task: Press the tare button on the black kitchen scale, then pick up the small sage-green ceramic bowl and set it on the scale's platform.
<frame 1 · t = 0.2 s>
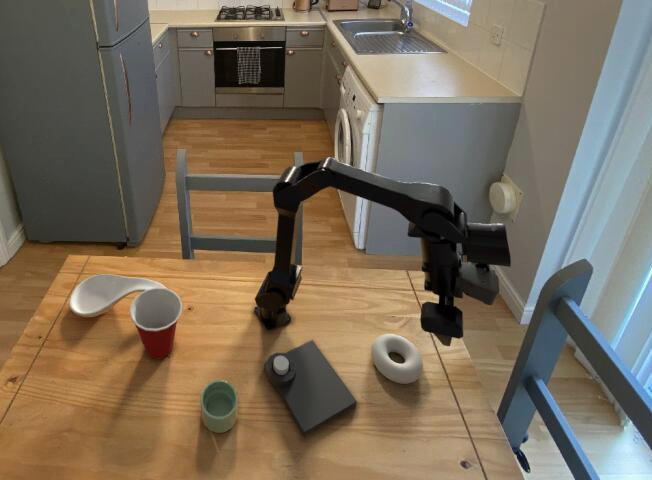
hand: (447, 324, 78), 15 cm above the table, tool pointing down, fingers open, 9 cm apart
tare button: (281, 365, 84), point 3 cm above the table, slide at 0.1 cm
scale: (308, 386, 83), on the table
spoon rest: (121, 305, 102), on the table
donut: (395, 363, 87), on the table
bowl: (219, 414, 79), on the table
plastic cup: (160, 346, 92), on the table
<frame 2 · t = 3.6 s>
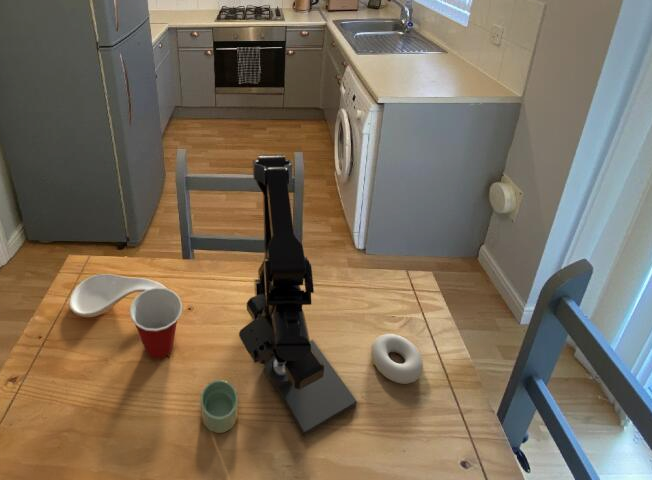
hand: (281, 364, 84), 4 cm above the table, tool pointing down, fingers closed, pressing on tare button
tare button: (280, 367, 84), point 3 cm above the table, slide at -0.4 cm, touching gripper
everything else where it was.
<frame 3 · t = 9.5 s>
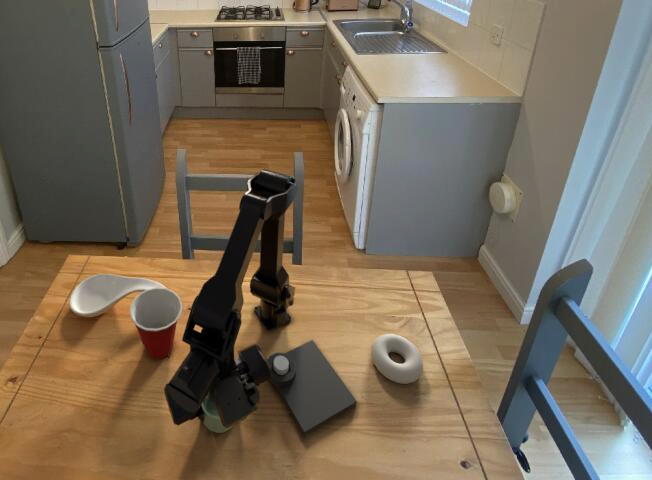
hand: (219, 410, 78), 1 cm above the table, tool pointing down, fingers closed on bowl, 7 cm apart
tare button: (281, 365, 84), point 3 cm above the table, slide at 0.1 cm
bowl: (219, 414, 79), on the table, touching gripper
everything else where it was.
when the fingers open (2 cm above the table, at t = 15.5 s): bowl stays where it is, resting on scale.
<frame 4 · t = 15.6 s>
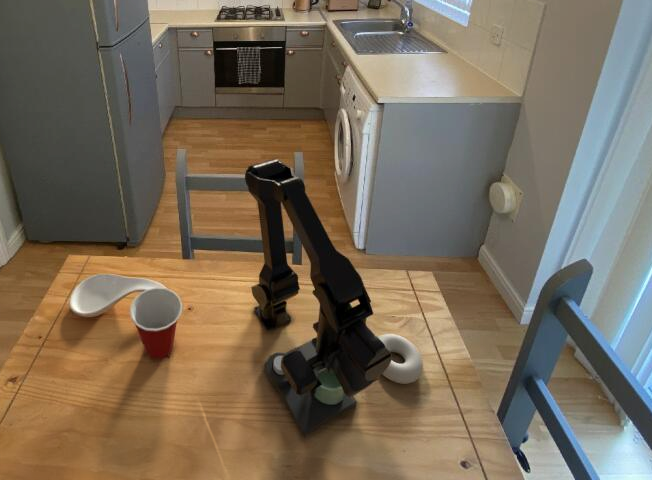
hand: (327, 384, 81), 2 cm above the table, tool pointing down, fingers open, 7 cm apart
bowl: (327, 387, 81), point 1 cm above the table, touching scale
everything else where it was.
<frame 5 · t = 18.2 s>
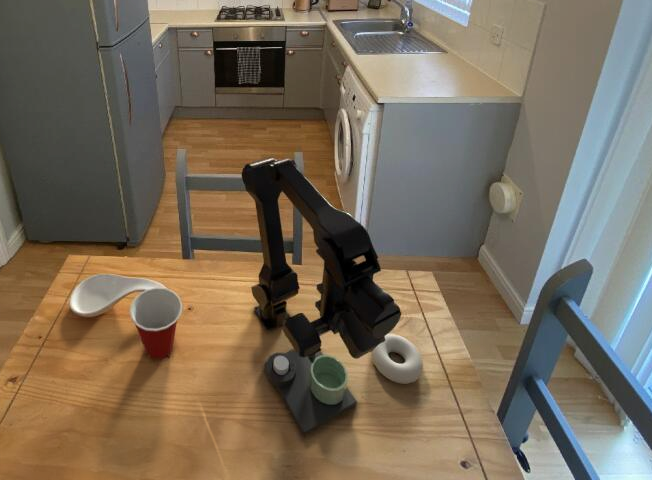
hand: (331, 350, 77), 12 cm above the table, tool pointing down, fingers open, 9 cm apart
nothing on the table moved.
at the end: tare button pushed in 1.0 cm at the most during the clip, back to where it started at the end; tare button slide at 0.1 cm; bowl inside the target area on the scale (3.5 cm from its centre), point 1.4 cm above the scale's base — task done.
